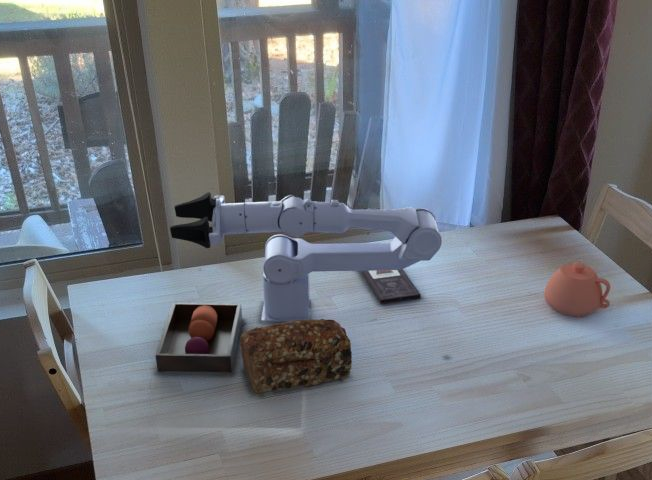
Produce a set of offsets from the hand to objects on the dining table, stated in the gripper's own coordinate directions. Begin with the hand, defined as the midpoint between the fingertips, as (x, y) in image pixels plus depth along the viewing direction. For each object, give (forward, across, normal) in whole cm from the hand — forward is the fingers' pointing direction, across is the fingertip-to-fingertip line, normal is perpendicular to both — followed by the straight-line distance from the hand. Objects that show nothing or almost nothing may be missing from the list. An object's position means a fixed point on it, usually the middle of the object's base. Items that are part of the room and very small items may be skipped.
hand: (173, 221), depth 156 cm
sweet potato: (-4, +10, +19) cm, 22 cm away
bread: (-22, +23, +20) cm, 37 cm away
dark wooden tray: (-4, +14, +20) cm, 24 cm away
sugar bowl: (-80, +1, +25) cm, 84 cm away
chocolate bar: (-41, -11, +24) cm, 49 cm away
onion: (-3, +18, +18) cm, 26 cm away
